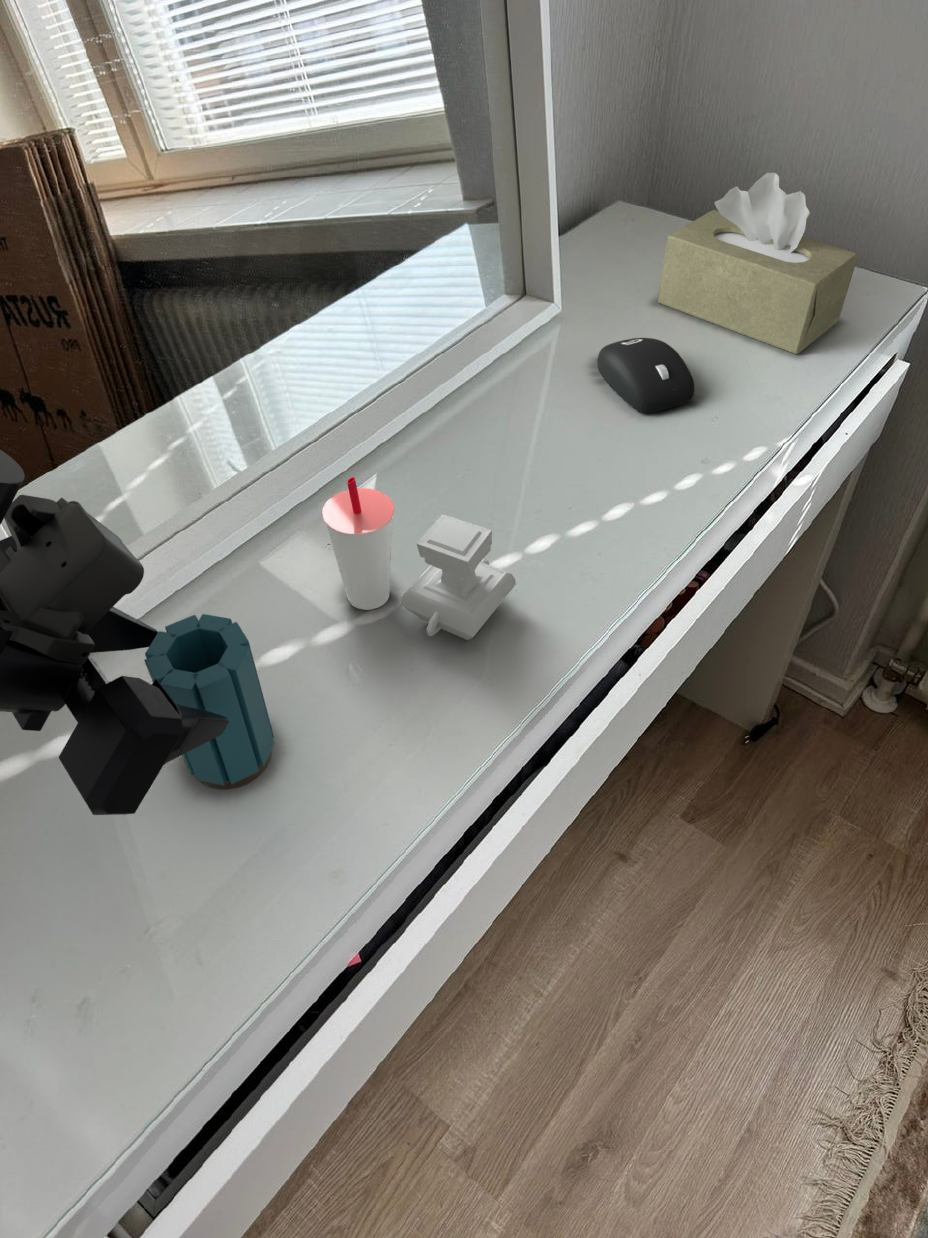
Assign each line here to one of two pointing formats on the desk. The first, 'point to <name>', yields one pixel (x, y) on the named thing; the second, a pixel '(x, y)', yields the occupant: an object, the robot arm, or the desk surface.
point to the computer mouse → (646, 374)
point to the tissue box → (757, 268)
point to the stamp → (456, 579)
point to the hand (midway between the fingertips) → (188, 680)
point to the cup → (362, 543)
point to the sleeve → (215, 693)
